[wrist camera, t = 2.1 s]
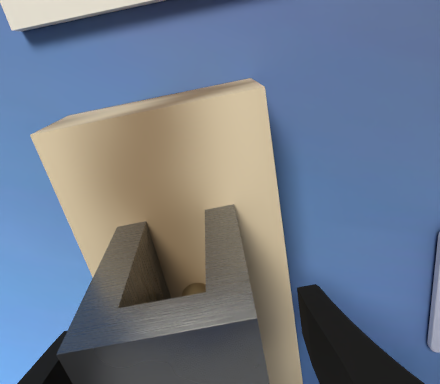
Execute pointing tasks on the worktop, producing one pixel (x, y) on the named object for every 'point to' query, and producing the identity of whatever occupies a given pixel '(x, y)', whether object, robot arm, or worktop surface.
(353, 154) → the worktop surface
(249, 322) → the grey notched block
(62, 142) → the body
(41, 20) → the tile
